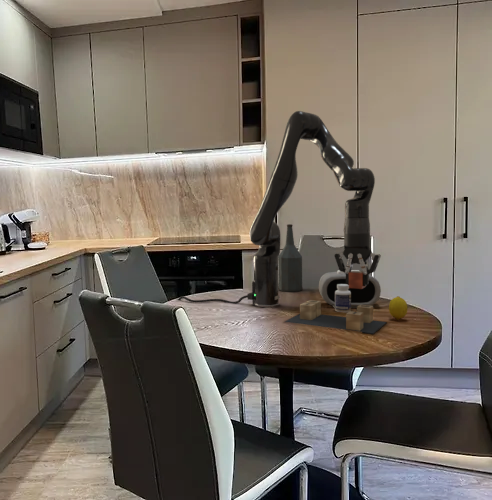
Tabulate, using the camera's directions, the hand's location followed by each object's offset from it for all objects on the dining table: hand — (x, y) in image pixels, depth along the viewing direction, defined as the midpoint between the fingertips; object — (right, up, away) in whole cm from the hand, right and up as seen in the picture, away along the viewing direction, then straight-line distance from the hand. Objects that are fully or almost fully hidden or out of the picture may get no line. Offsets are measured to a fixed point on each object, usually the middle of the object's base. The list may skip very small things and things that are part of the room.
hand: (357, 285), depth 155 cm
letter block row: (+1, -13, +1) cm, 13 cm away
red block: (0, -1, 0) cm, 1 cm away
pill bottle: (+4, -11, +22) cm, 25 cm away
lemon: (+16, -12, +7) cm, 22 cm away
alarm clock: (+10, -10, +30) cm, 33 cm away
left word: (-10, -12, +14) cm, 21 cm away
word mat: (-5, -13, +6) cm, 15 cm away
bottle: (-1, -7, +66) cm, 66 cm away
